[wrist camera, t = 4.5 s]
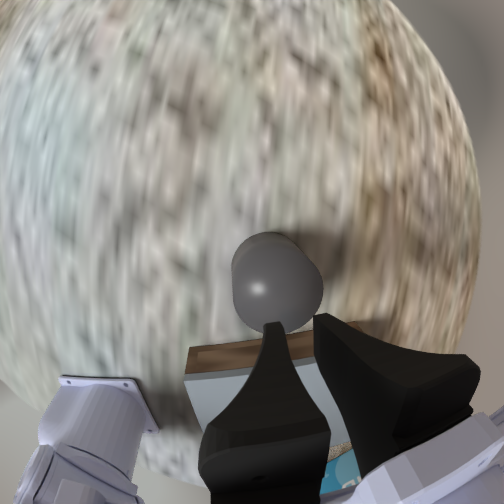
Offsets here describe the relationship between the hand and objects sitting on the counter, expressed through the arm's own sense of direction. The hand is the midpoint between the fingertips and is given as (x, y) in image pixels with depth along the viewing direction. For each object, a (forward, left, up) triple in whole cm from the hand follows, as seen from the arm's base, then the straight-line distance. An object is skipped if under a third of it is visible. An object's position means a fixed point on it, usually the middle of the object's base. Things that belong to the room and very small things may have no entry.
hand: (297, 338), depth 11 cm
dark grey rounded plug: (0, 0, -10) cm, 10 cm away
